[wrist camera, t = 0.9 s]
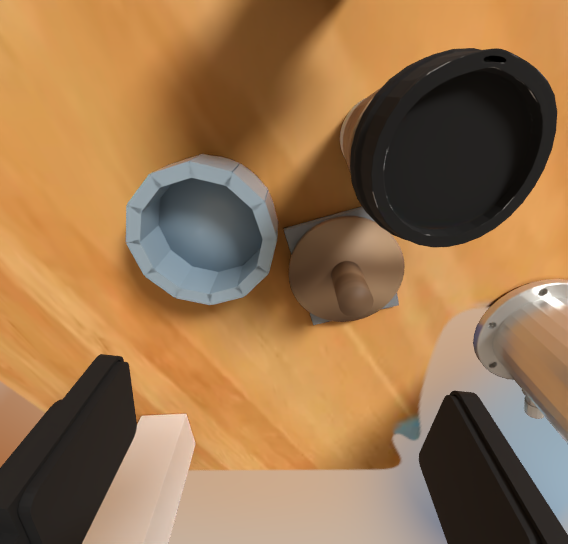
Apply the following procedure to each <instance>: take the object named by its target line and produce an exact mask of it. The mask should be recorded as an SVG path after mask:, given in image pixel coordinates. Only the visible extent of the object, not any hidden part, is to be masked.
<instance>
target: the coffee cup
mask: <svg viewBox="0 0 568 544" xmlns="http://www.w3.org/2000/svg"><path fill="white" fill-rule="evenodd" d="M556 123H557V108H556V102H555V95H554V93H553V91H552V89H551V87H550V85H549V83H548V81H547V80H546V78H545V77H544V76H543V75H542V74H541V73H540V72H539V70H537V69H536V68H535V67H534V66H532V65H531V64H530V63H528V62H527V61H525V60H523V59H522V58H520V57H518V56H516V55H514V54H512V53H510V52H508V51H506V50H503V49H487V50H479V49H475V48H467V49H452V50H448V51H444V52H441V53H437V54H434V55H431V56H429V57H426V58H423V59H421V60H419V61H417V62H415V63H413V64H411V65H409V66H407V67H406V68H404V69H403V70H402V71H400V72H399V73H398V74H396V75H395V76H394V77H392V78H391V79H389V81H388V82H387V83H386V84H385V85H384V86H383V87H382V88H380V89H379V90H377V91H376V92H374V93H373V94H371V95H370V96H368V97H367V98H365V99H363V100H362V101H360V102H359V103H358V104H356V105H355V106H354V107H353V108H352V109H351V110H350V111H349V113H348V114H347V116H346V118H345V120H344V122H343V124H342V128H341V132H340V145H341V150H342V153H343V156H344V158H345V160H346V162H347V165H348V168H349V170H350V173H351V179H352V185H353V188H354V190H355V193H356V196H357V199H358V200H359V202H360V204H361V205H362V207H363V209H364V210H365V212H366V213H367V214H368V215H369V216H370V217H371V218H372V219H373V220H374V221H375V222H376V223H377V224H378V225H379V226H380V227H381V228H383V229H384V230H386V231H387V232H389V233H390V234H392V235H395V236H397V237H400V238H402V239H405V240H408V241H411V242H413V243H416V244H418V245H423V246H429V247H450V246H454V245H459V244H463V243H466V242H469V241H471V240H474V239H476V238H479V237H481V236H483V235H484V234H486V233H488V232H489V231H491V230H493V229H495V228H496V227H497V226H498V225H500V224H501V223H502V222H503V221H505V220H506V219H507V218H508V217H510V216H511V215H512V213H513V212H514V211H515V210H516V209H517V208H518V207H519V206H520V205H521V204H522V203H523V202H524V200H525V199H526V197H527V196H528V195H529V193H530V192H531V191H532V189H533V188H534V186H535V185H536V183H537V181H538V179H539V177H540V176H541V174H542V172H543V170H544V168H545V166H546V163H547V160H548V158H549V155H550V153H551V150H552V146H553V142H554V137H555V133H556Z"/></svg>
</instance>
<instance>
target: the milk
mask: <svg viewBox="0 0 568 544" xmlns="http://www.w3.org/2000/svg"><path fill="white" fill-rule="evenodd" d="M194 448H195V440H194V437H193V434H192V430H191V427H190V424H189V420H188V417H187V414H168V415H146V416H141V418H140V420H139V422H138V424H137V429H136V433H135V436H134V439H133V441H132V443H131V445H130V447H129V449H128V451H127V453H126V455H125V457H124V459H123V461H122V463H121V465H120V467H119V469H118V471H117V473H116V475H115V478H114V480H113V482H112V484H111V486H110V488H109V490H108V492H107V494H106V496H105V498H104V500H103V502H102V504H101V506H100V508H99V510H98V512H97V514H96V516H95V518H94V520H93V522H92V524H91V526H90V528H89V530H88V532H87V534H86V537H85V539H84V541H83V543H82V544H168V543H169V539H170V535H171V532H172V528H173V524H174V521H175V517H176V514H177V510H178V506H179V503H180V499H181V495H182V492H183V488H184V484H185V481H186V477H187V473H188V470H189V466H190V463H191V459H192V455H193V452H194Z"/></svg>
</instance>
